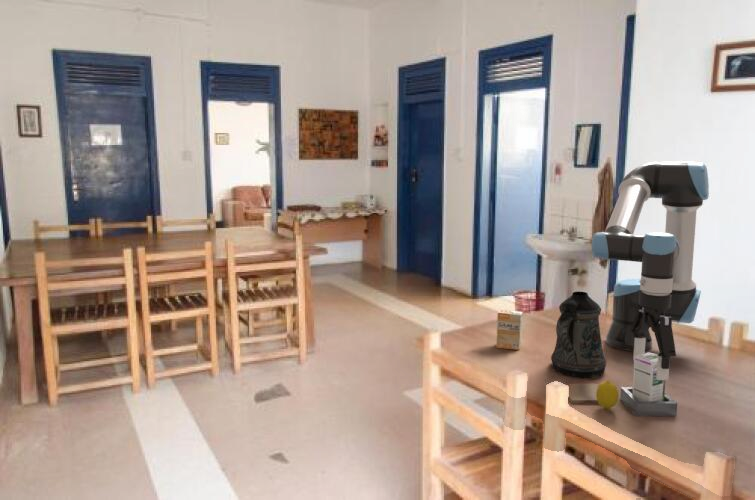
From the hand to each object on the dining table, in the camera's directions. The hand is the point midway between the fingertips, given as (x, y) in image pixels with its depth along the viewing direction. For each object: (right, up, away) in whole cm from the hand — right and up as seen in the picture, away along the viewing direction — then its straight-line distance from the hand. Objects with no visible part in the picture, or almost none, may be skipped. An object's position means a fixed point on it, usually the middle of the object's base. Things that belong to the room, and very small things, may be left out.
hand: (649, 369), depth 151 cm
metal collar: (0, -11, +2) cm, 11 cm away
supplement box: (-26, -3, +50) cm, 56 cm away
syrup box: (0, -11, +2) cm, 11 cm away
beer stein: (-9, -6, +28) cm, 30 cm away
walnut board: (-14, -9, +10) cm, 19 cm away
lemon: (-11, -11, +1) cm, 16 cm away
